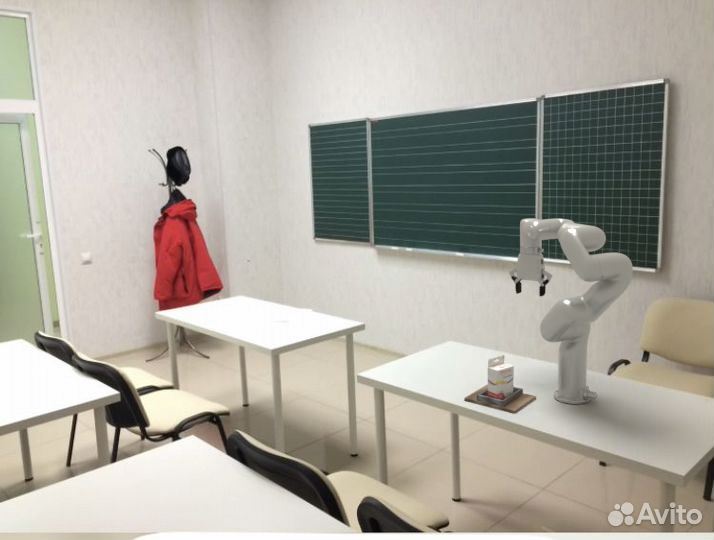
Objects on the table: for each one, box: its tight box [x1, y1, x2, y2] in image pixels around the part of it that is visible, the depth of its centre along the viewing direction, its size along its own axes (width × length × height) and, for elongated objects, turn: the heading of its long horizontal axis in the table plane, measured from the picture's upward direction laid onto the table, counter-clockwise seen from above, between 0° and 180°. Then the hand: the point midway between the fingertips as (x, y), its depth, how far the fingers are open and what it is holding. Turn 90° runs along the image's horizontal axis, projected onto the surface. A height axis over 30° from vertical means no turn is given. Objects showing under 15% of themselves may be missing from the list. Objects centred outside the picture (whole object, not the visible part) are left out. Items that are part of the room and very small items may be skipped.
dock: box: [464, 384, 537, 414], centre depth 221 cm, size 20×16×3 cm
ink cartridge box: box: [487, 354, 515, 400], centre depth 220 cm, size 9×5×15 cm, turn 123°
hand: (530, 294), depth 237 cm, fingers open, 9 cm apart
